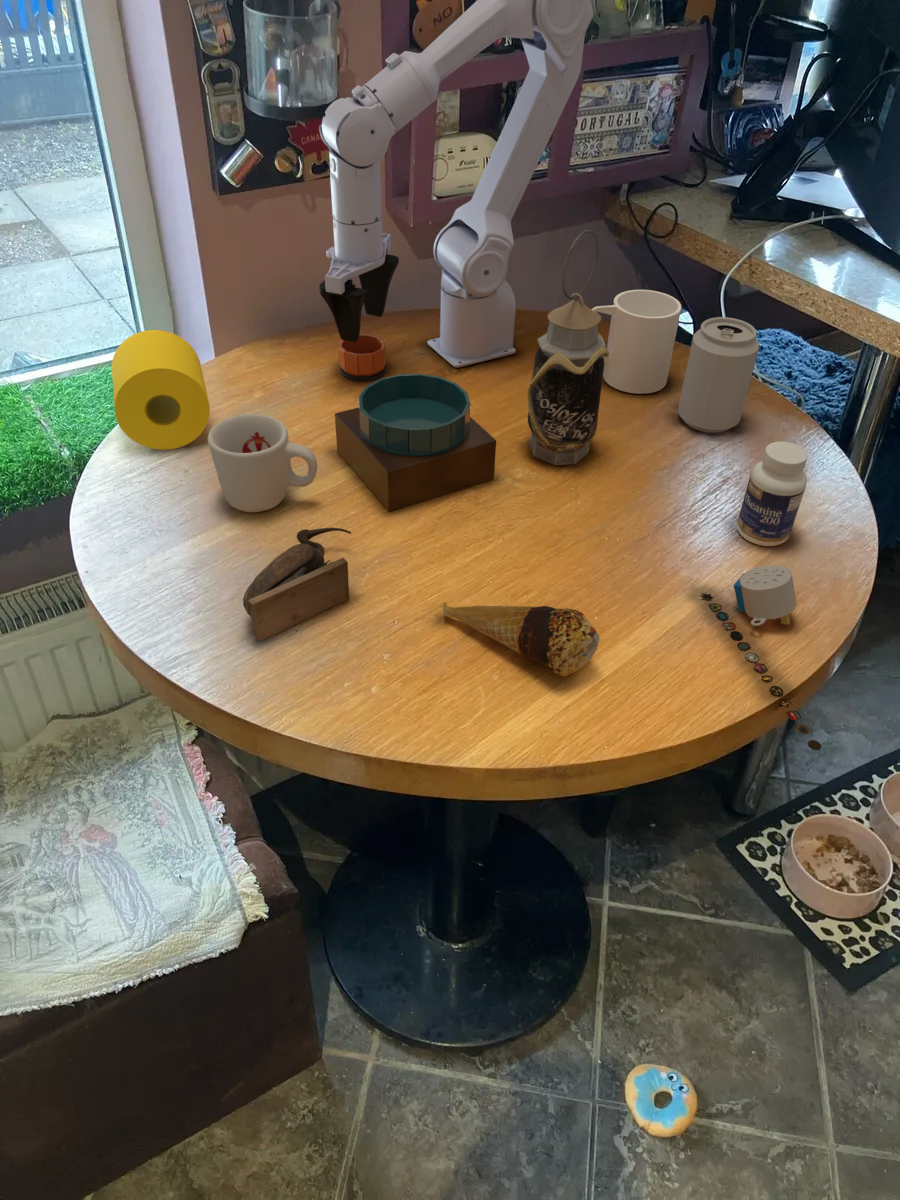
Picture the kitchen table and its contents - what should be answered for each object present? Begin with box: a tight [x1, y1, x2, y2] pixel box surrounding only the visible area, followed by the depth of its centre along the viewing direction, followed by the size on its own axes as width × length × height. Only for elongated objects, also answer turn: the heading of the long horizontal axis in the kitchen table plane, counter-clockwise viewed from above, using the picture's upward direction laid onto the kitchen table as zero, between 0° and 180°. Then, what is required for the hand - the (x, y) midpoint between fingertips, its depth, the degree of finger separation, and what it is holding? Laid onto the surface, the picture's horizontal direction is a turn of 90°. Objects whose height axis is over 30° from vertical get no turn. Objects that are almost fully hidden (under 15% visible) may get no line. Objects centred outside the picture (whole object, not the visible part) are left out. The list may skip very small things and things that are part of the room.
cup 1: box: [207, 413, 318, 513], centre depth 97 cm, size 11×8×8 cm
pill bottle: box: [736, 441, 808, 547], centre depth 94 cm, size 5×5×10 cm
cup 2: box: [590, 289, 682, 395], centre depth 118 cm, size 8×12×10 cm
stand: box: [334, 407, 497, 512], centre depth 104 cm, size 13×13×5 cm
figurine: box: [242, 527, 352, 642], centre depth 88 cm, size 14×4×9 cm
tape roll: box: [111, 329, 211, 451], centre depth 107 cm, size 10×10×9 cm
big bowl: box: [357, 372, 472, 456], centre depth 101 cm, size 12×12×3 cm
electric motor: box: [733, 564, 798, 627], centre depth 87 cm, size 7×5×5 cm
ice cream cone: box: [442, 602, 600, 677], centre depth 82 cm, size 6×6×15 cm
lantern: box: [526, 229, 609, 466], centre depth 100 cm, size 9×8×25 cm
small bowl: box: [337, 333, 387, 377], centre depth 120 cm, size 6×6×3 cm
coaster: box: [339, 363, 388, 382], centre depth 121 cm, size 6×6×1 cm
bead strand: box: [700, 591, 823, 752], centre depth 83 cm, size 20×1×1 cm
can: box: [677, 316, 760, 434], centre depth 110 cm, size 8×8×12 cm
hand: (362, 326), depth 118 cm, fingers open, 7 cm apart
